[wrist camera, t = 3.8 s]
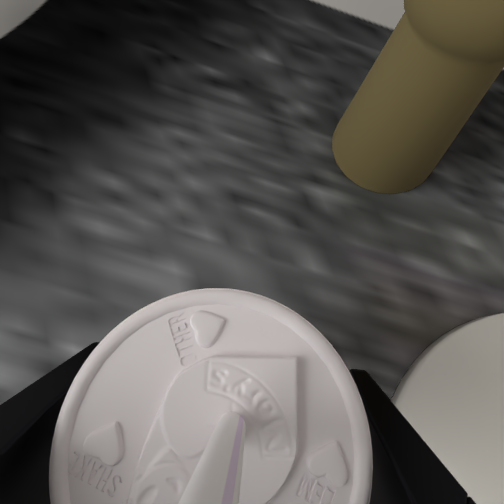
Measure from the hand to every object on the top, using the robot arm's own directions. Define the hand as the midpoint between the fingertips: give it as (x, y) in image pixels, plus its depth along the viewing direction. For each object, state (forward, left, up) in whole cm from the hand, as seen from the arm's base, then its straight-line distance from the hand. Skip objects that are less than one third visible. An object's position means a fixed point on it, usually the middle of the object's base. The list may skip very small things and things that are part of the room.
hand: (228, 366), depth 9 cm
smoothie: (-1, +1, -7) cm, 7 cm away
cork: (+6, -13, -7) cm, 16 cm away
